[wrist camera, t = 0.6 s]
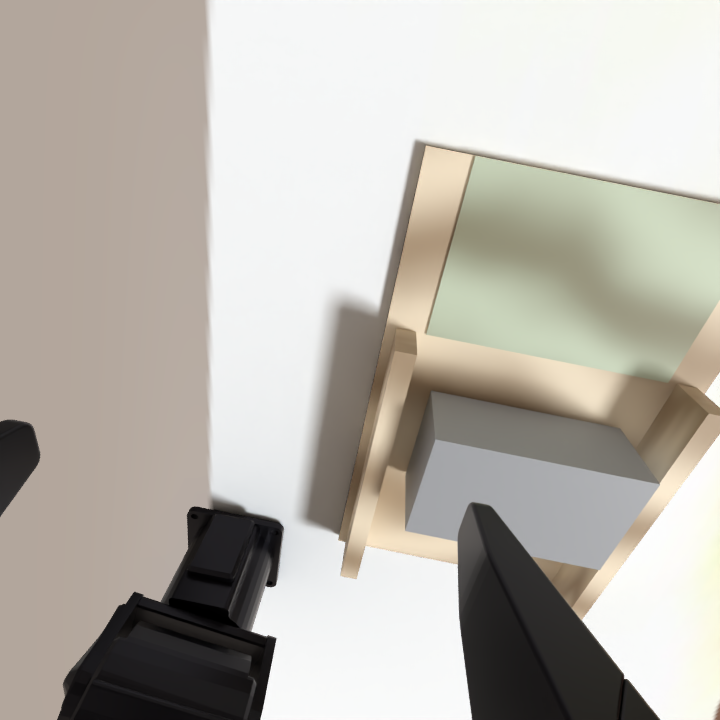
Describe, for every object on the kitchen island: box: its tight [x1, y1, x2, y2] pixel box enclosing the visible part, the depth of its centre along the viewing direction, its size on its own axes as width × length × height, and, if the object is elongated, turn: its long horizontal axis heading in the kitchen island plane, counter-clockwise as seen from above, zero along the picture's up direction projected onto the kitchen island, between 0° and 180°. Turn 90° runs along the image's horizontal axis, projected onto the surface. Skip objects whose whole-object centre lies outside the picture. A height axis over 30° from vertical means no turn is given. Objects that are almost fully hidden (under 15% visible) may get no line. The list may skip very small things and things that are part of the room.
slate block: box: [405, 391, 660, 570], centre depth 22 cm, size 6×10×4 cm, turn 80°
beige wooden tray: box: [338, 146, 720, 620], centre depth 22 cm, size 24×16×3 cm, turn 170°
